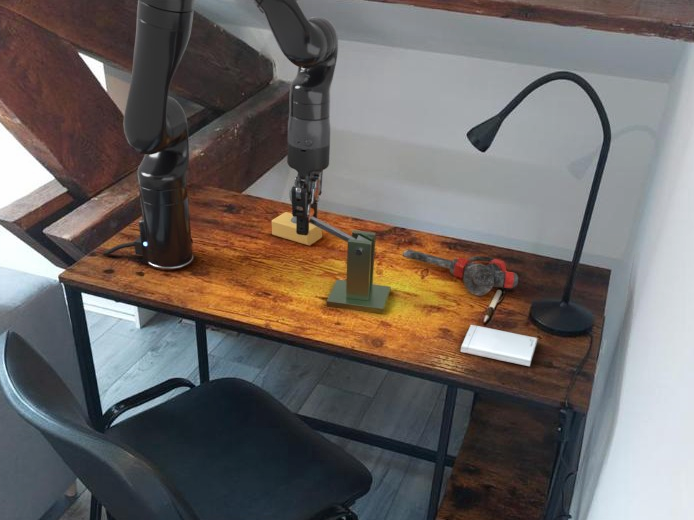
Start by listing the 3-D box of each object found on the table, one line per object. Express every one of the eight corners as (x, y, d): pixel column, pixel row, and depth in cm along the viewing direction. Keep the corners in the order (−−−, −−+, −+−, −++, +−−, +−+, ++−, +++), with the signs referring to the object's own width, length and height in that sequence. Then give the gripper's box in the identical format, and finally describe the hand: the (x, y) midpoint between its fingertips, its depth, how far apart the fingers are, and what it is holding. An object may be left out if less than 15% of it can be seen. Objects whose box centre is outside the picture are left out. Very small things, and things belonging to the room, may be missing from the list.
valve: (532, 285, 170) (504, 304, 158) (425, 256, 182) (391, 271, 170) (538, 256, 168) (509, 273, 156) (428, 229, 179) (394, 242, 167)
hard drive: (538, 337, 147) (471, 323, 149) (530, 360, 140) (461, 345, 143) (536, 344, 148) (470, 330, 150) (529, 368, 141) (460, 352, 144)
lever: (296, 226, 149) (301, 215, 148) (304, 214, 154) (309, 204, 152) (362, 260, 150) (368, 250, 149) (368, 247, 155) (373, 237, 154)
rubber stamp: (322, 237, 181) (323, 186, 174) (308, 246, 176) (309, 194, 170) (285, 226, 184) (285, 176, 178) (271, 235, 180) (270, 184, 173)
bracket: (326, 306, 155) (327, 243, 148) (336, 284, 163) (338, 223, 155) (382, 313, 154) (386, 250, 146) (390, 291, 161) (394, 230, 154)
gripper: (298, 124, 149) (297, 209, 158) (276, 150, 137) (276, 240, 146) (338, 129, 148) (334, 215, 157) (319, 156, 136) (316, 246, 145)
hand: (306, 227), depth 152 cm, fingers closed on lever, 5 cm apart
